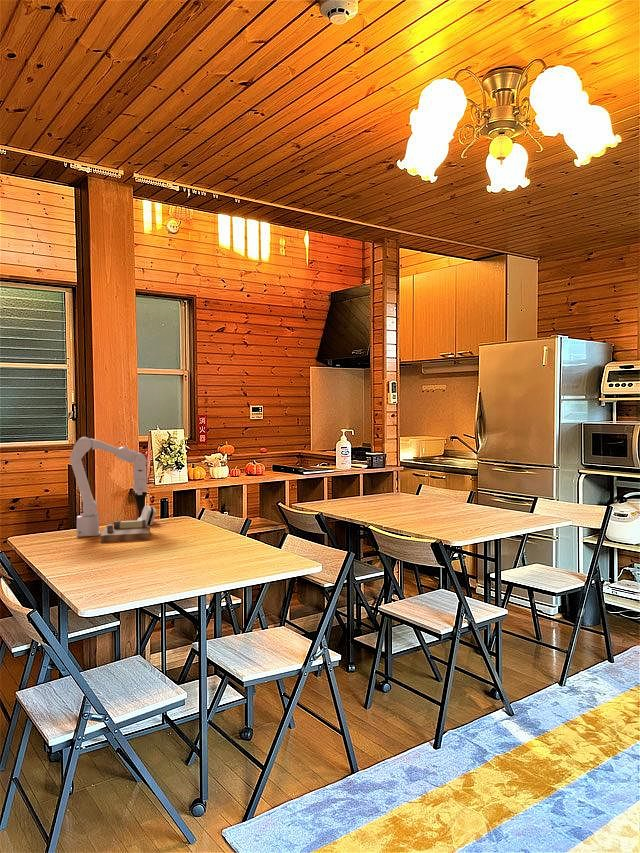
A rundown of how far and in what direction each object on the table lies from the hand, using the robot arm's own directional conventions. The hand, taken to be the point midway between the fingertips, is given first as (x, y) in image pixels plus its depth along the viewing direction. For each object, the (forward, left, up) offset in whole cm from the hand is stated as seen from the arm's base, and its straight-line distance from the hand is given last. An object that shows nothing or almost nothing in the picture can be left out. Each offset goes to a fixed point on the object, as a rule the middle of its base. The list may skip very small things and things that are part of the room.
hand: (140, 508), depth 304 cm
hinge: (+2, +20, -11) cm, 23 cm away
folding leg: (-5, -7, -7) cm, 11 cm away
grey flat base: (-6, -13, -10) cm, 18 cm away
